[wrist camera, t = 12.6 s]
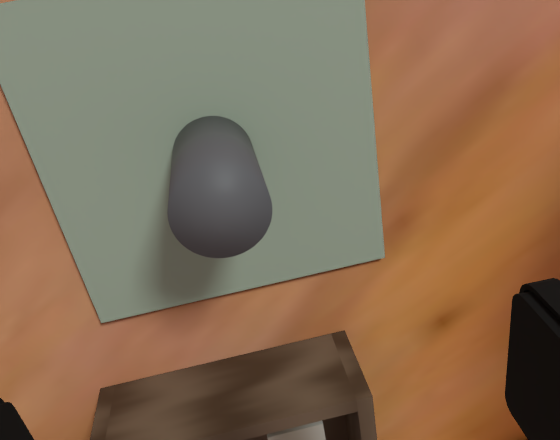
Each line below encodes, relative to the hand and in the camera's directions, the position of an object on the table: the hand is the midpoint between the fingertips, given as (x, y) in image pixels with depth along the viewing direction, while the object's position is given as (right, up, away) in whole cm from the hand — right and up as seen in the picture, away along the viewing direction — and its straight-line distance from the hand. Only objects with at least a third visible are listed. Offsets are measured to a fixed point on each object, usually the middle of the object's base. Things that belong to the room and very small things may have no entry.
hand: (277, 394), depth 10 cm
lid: (-3, +7, +14) cm, 16 cm away
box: (-2, -11, +22) cm, 25 cm away
